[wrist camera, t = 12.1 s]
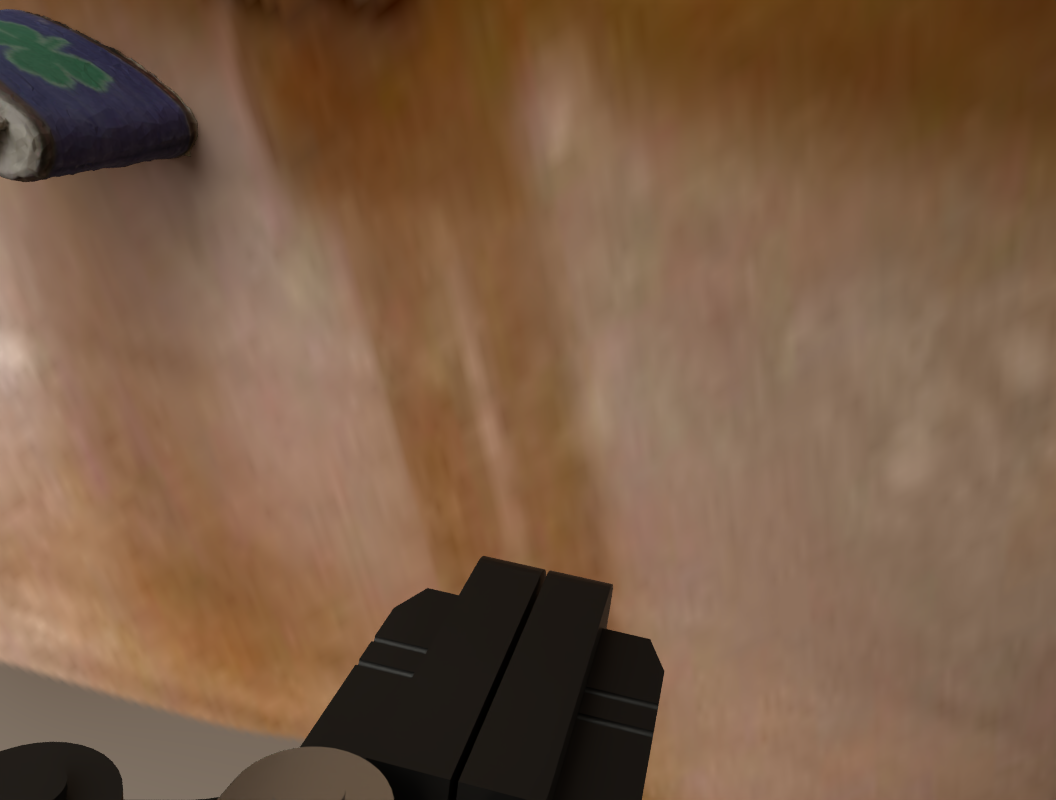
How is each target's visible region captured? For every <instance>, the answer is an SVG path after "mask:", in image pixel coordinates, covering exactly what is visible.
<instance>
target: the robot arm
mask: <svg viewBox="0 0 1056 800" xmlns="http://www.w3.org/2000/svg"><path fill="white" fill-rule="evenodd" d="M612 590H613V584H609V583H604V582H600V581H595V580H591V579H586V578H582V577H577V576H573V575H568V574H564V573H559V572H555V571H549V572H548V574H547V576H546V571H545V569H540V568H536V567H531V566H527V565H522V564H518V563H513V562H509V561H504V560H500V559H496V558H491V557H487V556H482V557H481V558H480V560H479V561H478V563H477V565H476V566H475V568H474V570H473V572H472V573H471V575H470V577H469V579H468V580H467V582H466V584H465V586H464V587H463V589H462V591H461V593H460V594H459V595H455V594H451V593H446V592H442V591H438V590H433V589H429V588H427V589H425V590H424V591H422V592H420V593H419V594H417V595H415V596H413V597H412V598H410V599H408V600H407V601H405V602H403V603H402V604H400V605H398V606H396V607H395V608H394V609H393V610H392V612H391V613H390V615H389V616H388V618H387V619H386V620H385V622H384V623H383V625H382V626H381V628H380V629H379V631H378V632H377V634H376V635H375V639H374V642H372V641H371V643H370V644H369V646H368V647H367V649H366V650H365V652H364V653H363V655H362V656H361V658H360V659H359V664H358V665H355V666H354V668H353V669H352V671H351V672H350V674H349V675H348V677H347V678H346V680H345V681H344V683H343V684H342V686H341V687H340V689H339V690H338V692H337V693H336V695H335V696H334V698H333V699H332V700H331V702H330V703H329V705H328V706H327V708H326V709H325V711H324V712H323V714H322V715H321V717H320V718H319V720H318V721H317V723H316V724H315V726H314V727H313V729H312V730H311V732H310V733H309V735H308V736H307V738H306V739H305V741H304V742H303V743H302V745H301V746H300V748H293V749H288V750H284V751H280V752H277V753H274V754H271V755H269V756H266V757H264V758H262V759H260V760H259V761H256V762H255V763H253V764H252V765H250V766H249V767H247V768H246V769H245V770H244V771H242V772H241V773H240V774H239V775H238V776H237V777H236V778H235V779H234V780H233V782H232V783H231V784H230V785H229V786H228V787H227V789H226V790H225V791H224V792H223V793H222V794H221V795H220V797H217V798H210V799H198V800H642V795H643V789H644V784H645V778H646V772H647V767H648V761H649V755H650V750H651V744H652V738H653V733H654V727H655V721H656V716H657V710H658V704H659V699H660V693H661V687H662V682H663V676H664V670H663V667H662V665H661V663H660V661H659V658H658V656H657V654H656V651H655V649H654V647H653V645H652V642H651V640H650V639H647V638H643V637H638V636H634V635H630V634H625V633H621V632H617V631H612V630H608V629H606V628H607V622H608V616H609V610H610V604H611V598H612ZM0 800H123V785H122V778H121V775H120V773H119V770H118V769H117V767H116V766H115V765H114V764H113V762H112V761H111V760H110V759H109V758H107V757H106V756H105V755H104V754H102V753H100V752H98V751H96V750H94V749H92V748H89V747H86V746H83V745H78V744H73V743H67V742H43V743H33V744H27V745H21V746H18V747H14V748H10V749H7V750H3V751H0Z"/></svg>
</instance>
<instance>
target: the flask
mask: <svg viewBox="0 0 1056 800" xmlns="http://www.w3.org/2000/svg"><path fill="white" fill-rule="evenodd" d="M197 137H198V134H197V121H196V120H195V118H194V116H193V114H192V112H191V110H190V108H189V107H187V106H186V105H185V104H184V103H183V101H182V100H181V98H180V97H179V96H178V95H177V94H176V93H175V92H174V91H171V89H170V88H168V87H167V86H166V85H164V84H162V82H161V81H159V79H158V78H156V77H155V75H153V74H151V72H147V71H146V70H145V69H144V68H143V67H142V66H141V65H140V64H137V63H136V62H135V61H134V60H133V59H132V58H128V57H126V56H124V55H122V54H121V52H119V51H118V50H115V48H111V47H108V46H105V45H103V44H101V43H100V42H98V41H96V40H94V39H92V38H90V37H88V36H86V35H84V34H82V33H80V32H79V31H77V30H72V29H71V28H69V27H67V26H66V25H65V24H61V23H60V22H57V21H53V20H51V19H50V18H48V17H45V16H40V15H38V14H32V13H30V12H25V11H21V10H10V9H6V10H0V176H1V177H3V178H7V179H10V180H16V181H22V182H30V181H31V182H34V181H38V180H43V179H48V178H51V177H60V176H64V175H68V174H70V175H74V174H76V173H79V172H84V171H89V170H93V171H95V170H98V169H101V168H117V167H126V166H129V165H132V164H135V163H140V162H143V161H152V160H155V159H171V158H179V157H181V156H183V155H185V156H190V150H191V148H192V146H193V145H194V143H195V141H196V139H197ZM190 157H191V156H190Z"/></svg>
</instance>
